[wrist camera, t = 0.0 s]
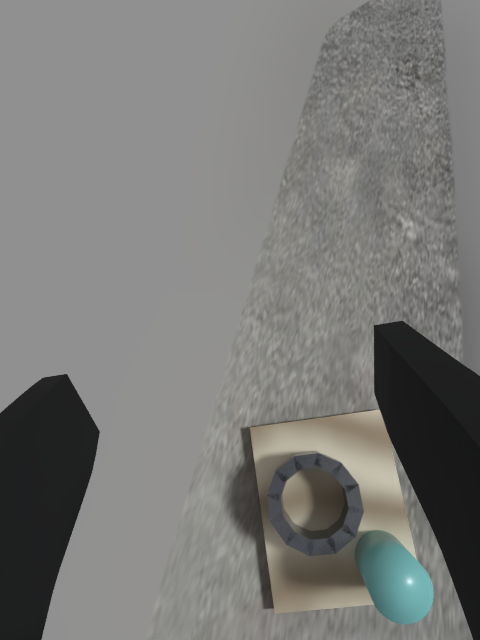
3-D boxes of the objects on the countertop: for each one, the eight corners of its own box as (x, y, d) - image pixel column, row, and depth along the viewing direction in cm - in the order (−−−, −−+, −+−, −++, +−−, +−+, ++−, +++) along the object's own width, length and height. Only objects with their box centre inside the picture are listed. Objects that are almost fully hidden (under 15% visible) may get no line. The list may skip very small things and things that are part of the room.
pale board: (422, 594, 35) (425, 599, 34) (275, 608, 36) (274, 613, 35) (380, 409, 39) (382, 409, 38) (250, 427, 40) (249, 427, 39)
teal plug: (412, 583, 34) (440, 621, 27) (360, 588, 35) (376, 627, 28) (400, 527, 35) (424, 550, 29) (350, 532, 36) (362, 557, 29)
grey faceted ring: (365, 540, 35) (371, 549, 33) (276, 549, 36) (275, 560, 33) (347, 446, 38) (351, 448, 35) (264, 457, 38) (261, 460, 36)
